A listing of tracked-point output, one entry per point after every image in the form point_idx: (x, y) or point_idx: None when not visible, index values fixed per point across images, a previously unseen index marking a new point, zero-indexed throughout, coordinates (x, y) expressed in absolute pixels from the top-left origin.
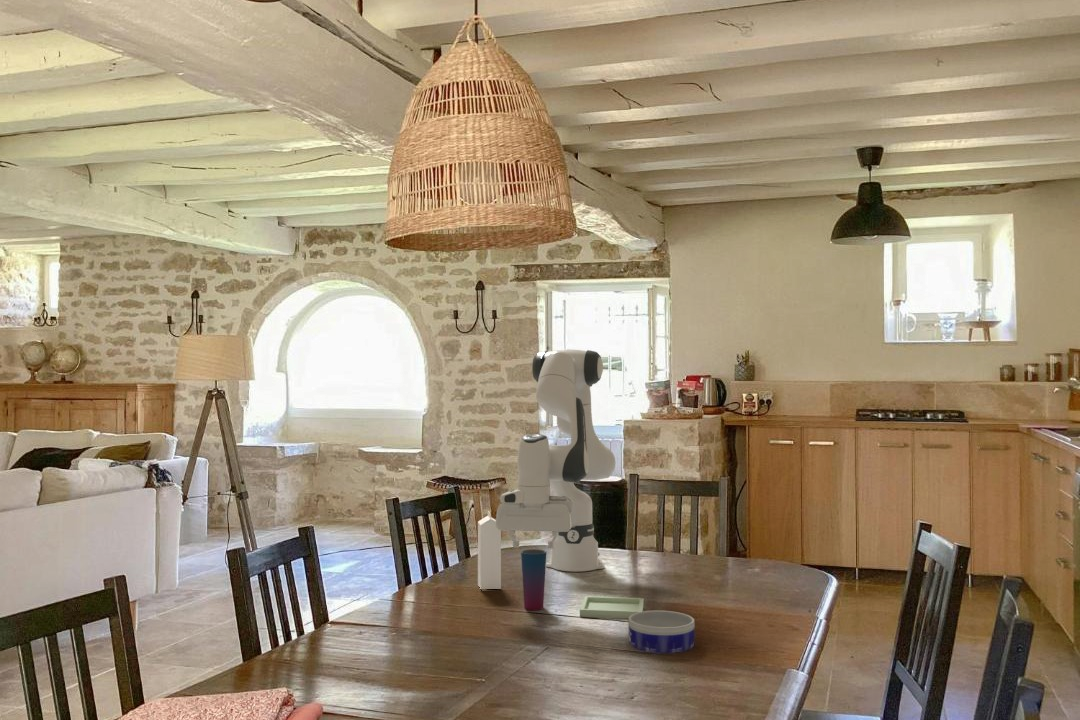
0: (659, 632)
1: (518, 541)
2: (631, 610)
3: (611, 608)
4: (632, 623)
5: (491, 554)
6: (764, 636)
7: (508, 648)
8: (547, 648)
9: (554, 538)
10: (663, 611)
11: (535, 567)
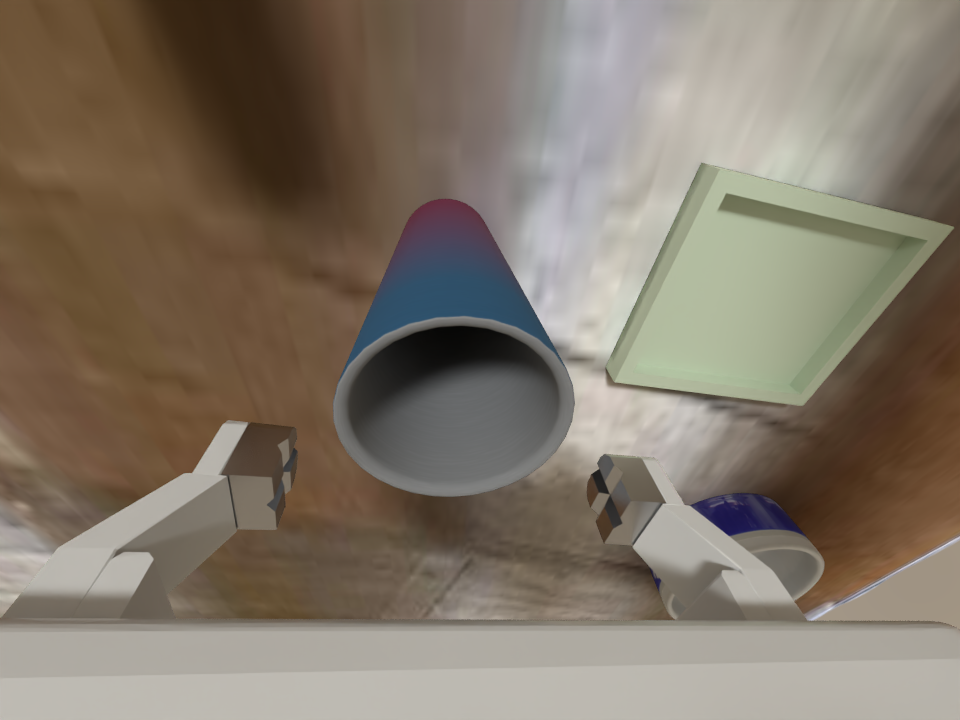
0: None
1: (278, 513)
2: (805, 332)
3: (752, 305)
4: (665, 606)
5: None
6: (948, 498)
7: (384, 569)
8: (468, 565)
9: (679, 585)
10: (790, 549)
11: (462, 417)
